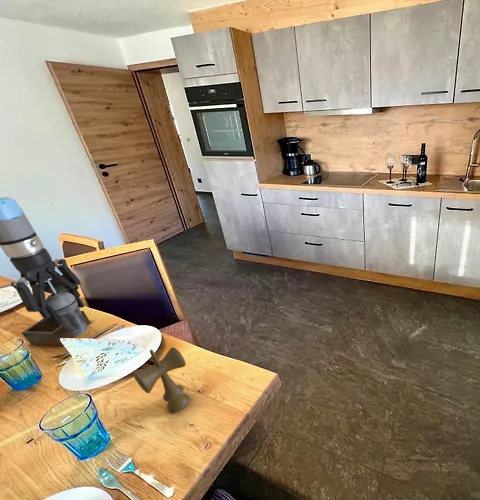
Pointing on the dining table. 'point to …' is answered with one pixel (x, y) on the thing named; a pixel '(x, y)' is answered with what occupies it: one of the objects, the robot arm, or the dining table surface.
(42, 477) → the dining table surface
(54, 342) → the crate
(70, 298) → the beverage cup
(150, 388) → the kendama
